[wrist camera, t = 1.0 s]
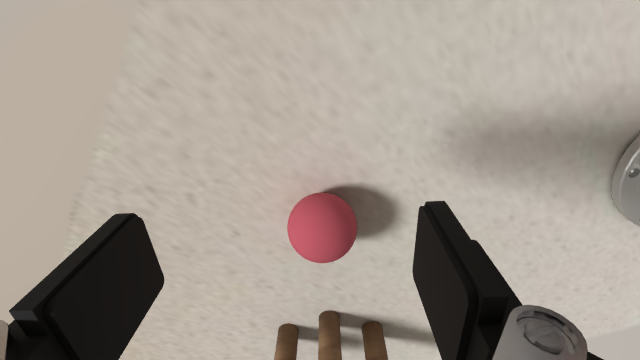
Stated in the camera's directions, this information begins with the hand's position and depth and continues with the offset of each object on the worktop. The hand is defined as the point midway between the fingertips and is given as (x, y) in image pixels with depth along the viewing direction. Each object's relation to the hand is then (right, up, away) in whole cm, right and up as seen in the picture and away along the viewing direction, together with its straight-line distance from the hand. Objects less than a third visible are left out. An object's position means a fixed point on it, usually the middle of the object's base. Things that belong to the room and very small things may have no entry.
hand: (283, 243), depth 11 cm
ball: (+1, -2, +16) cm, 17 cm away
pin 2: (+7, -16, +26) cm, 32 cm away
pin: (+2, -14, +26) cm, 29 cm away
